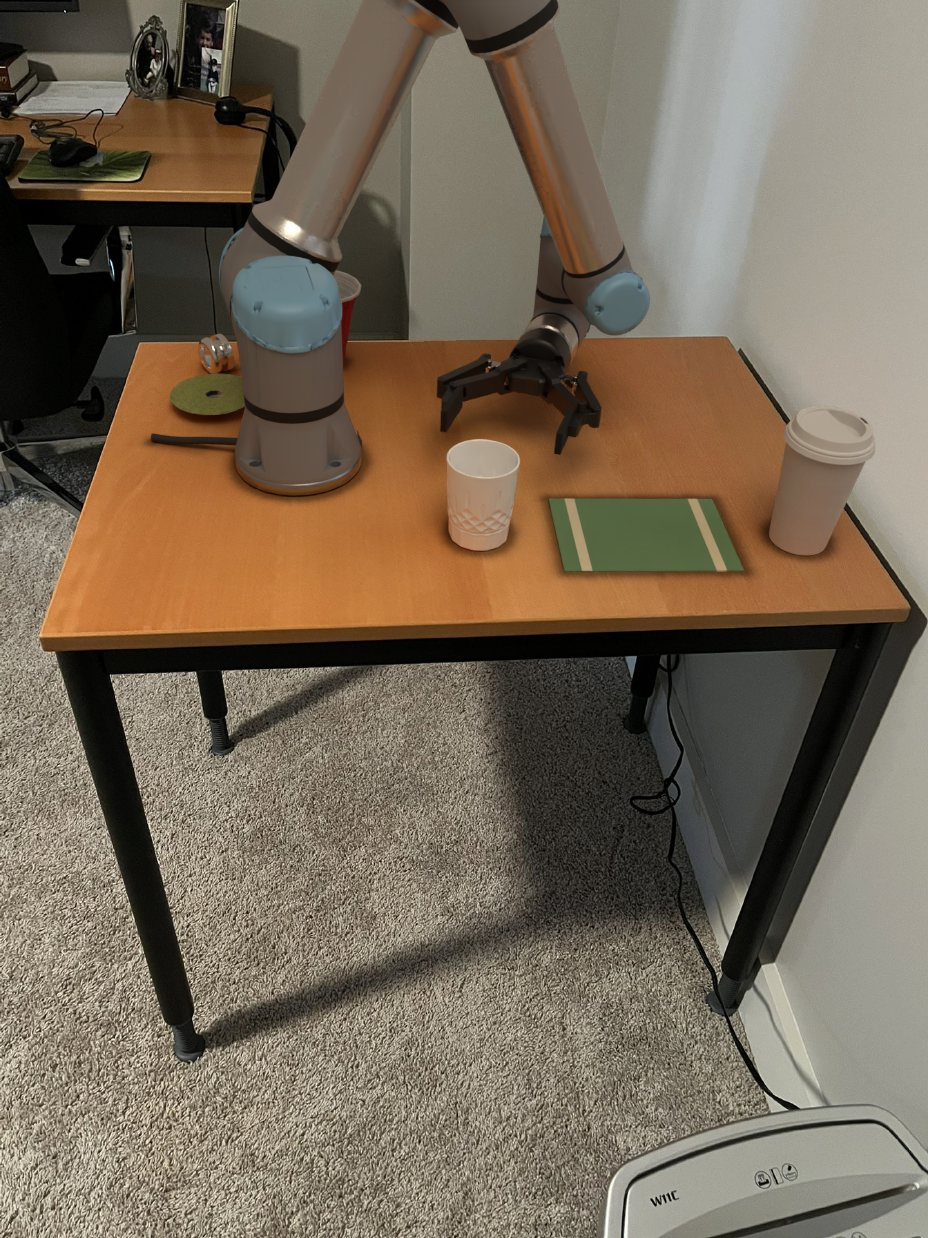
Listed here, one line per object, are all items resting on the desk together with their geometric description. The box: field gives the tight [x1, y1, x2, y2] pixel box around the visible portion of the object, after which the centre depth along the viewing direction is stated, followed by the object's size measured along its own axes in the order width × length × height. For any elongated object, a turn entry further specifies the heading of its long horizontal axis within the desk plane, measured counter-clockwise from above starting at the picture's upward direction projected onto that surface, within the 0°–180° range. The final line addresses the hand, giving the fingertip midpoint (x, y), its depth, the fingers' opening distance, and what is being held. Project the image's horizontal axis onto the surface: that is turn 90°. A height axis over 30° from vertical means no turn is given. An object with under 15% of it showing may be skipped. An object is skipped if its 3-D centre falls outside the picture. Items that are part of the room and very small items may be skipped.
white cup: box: [446, 438, 521, 552], centre depth 109 cm, size 8×8×10 cm
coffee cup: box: [768, 405, 876, 556], centre depth 109 cm, size 10×10×15 cm
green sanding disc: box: [169, 372, 245, 416], centre depth 131 cm, size 11×11×2 cm
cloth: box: [548, 498, 745, 573], centre depth 114 cm, size 20×14×1 cm
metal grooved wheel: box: [197, 333, 235, 374], centre depth 138 cm, size 5×3×5 cm, turn 41°
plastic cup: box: [333, 269, 362, 364], centre depth 139 cm, size 11×11×12 cm
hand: (500, 432), depth 113 cm, fingers open, 13 cm apart
